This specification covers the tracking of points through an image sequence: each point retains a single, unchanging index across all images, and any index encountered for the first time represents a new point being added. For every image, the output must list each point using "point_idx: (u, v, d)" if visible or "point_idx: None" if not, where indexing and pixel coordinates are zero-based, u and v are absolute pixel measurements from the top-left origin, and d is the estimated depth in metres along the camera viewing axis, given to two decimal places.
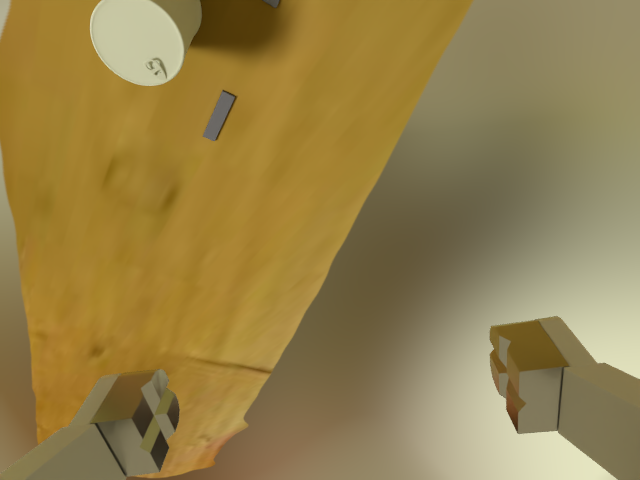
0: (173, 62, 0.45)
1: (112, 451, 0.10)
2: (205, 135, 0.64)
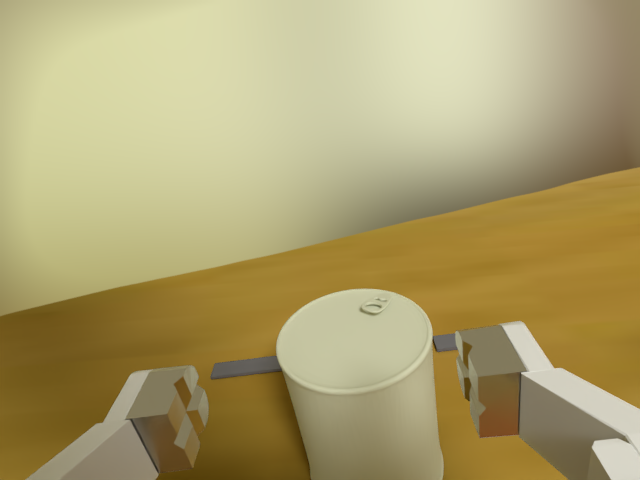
0: (353, 297, 0.29)
1: (146, 447, 0.10)
2: None
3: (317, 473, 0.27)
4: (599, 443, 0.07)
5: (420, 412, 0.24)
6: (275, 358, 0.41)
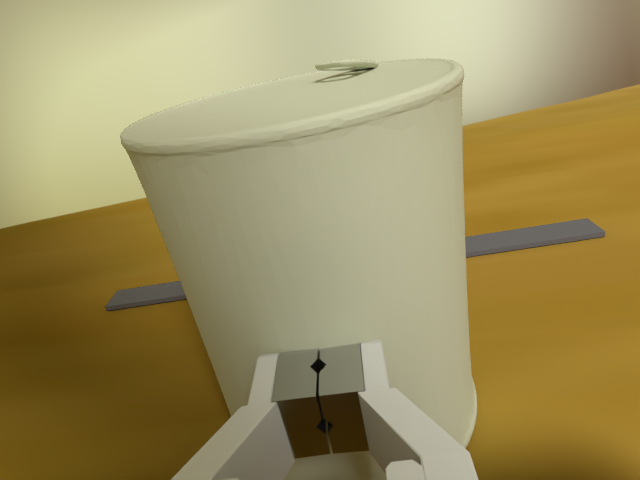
0: (307, 78, 0.15)
1: (286, 431, 0.09)
2: (596, 230, 0.24)
3: (228, 401, 0.14)
4: (393, 464, 0.07)
5: (435, 239, 0.10)
6: None
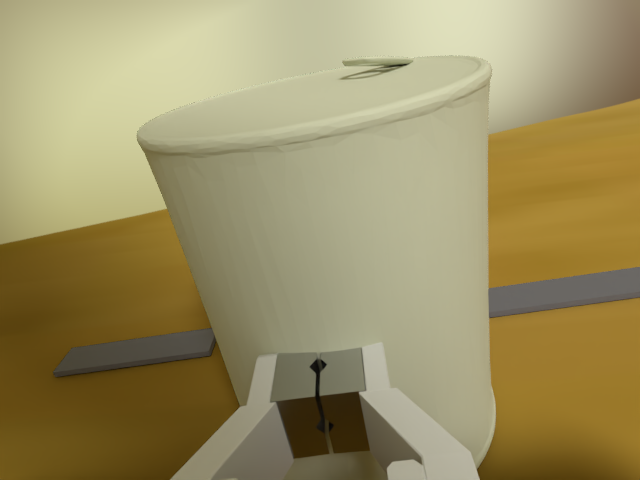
0: (340, 73, 0.15)
1: (285, 431, 0.09)
2: None
3: (235, 392, 0.14)
4: (394, 464, 0.07)
5: (441, 255, 0.10)
6: (179, 336, 0.22)
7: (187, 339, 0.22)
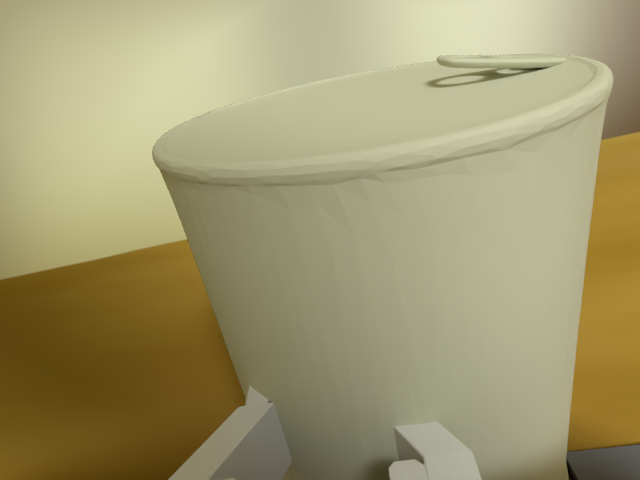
0: None
1: None
2: None
3: None
4: (396, 464, 0.07)
5: (373, 361, 0.07)
6: None
7: None
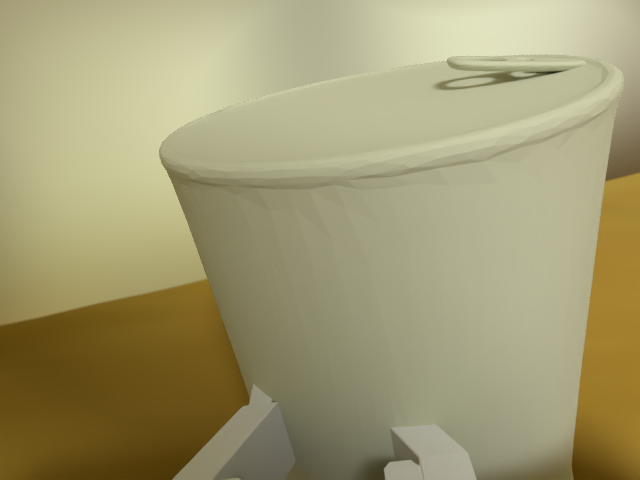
0: None
1: None
2: None
3: None
4: (392, 464, 0.07)
5: (353, 363, 0.07)
6: None
7: None
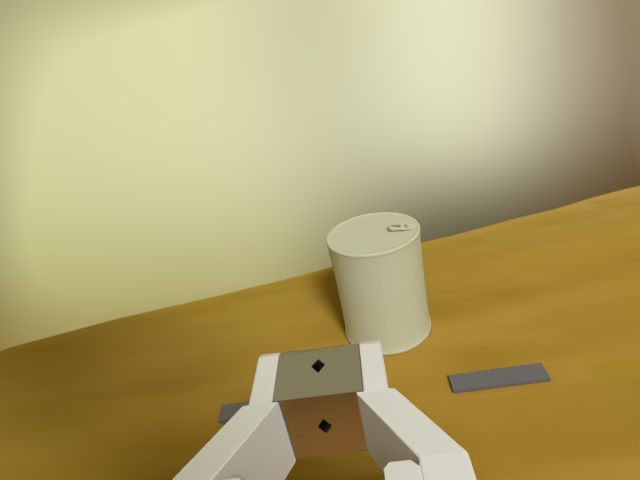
0: (403, 219, 0.43)
1: (287, 431, 0.09)
2: (544, 376, 0.36)
3: None
4: (391, 464, 0.07)
5: (369, 287, 0.40)
6: None
7: None
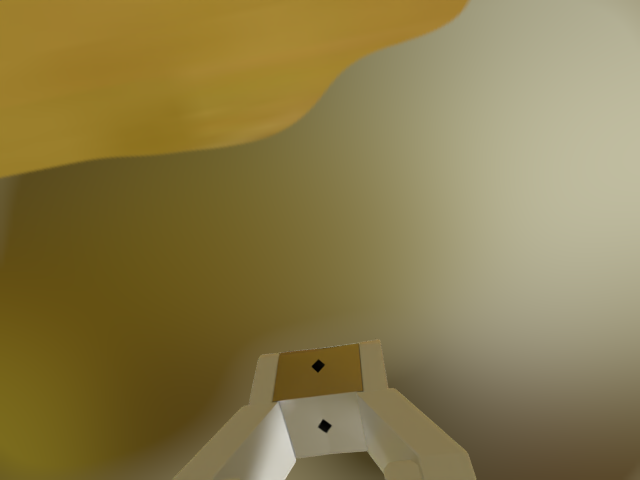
0: None
1: (287, 431, 0.09)
2: None
3: None
4: (392, 464, 0.07)
5: None
6: None
7: None
